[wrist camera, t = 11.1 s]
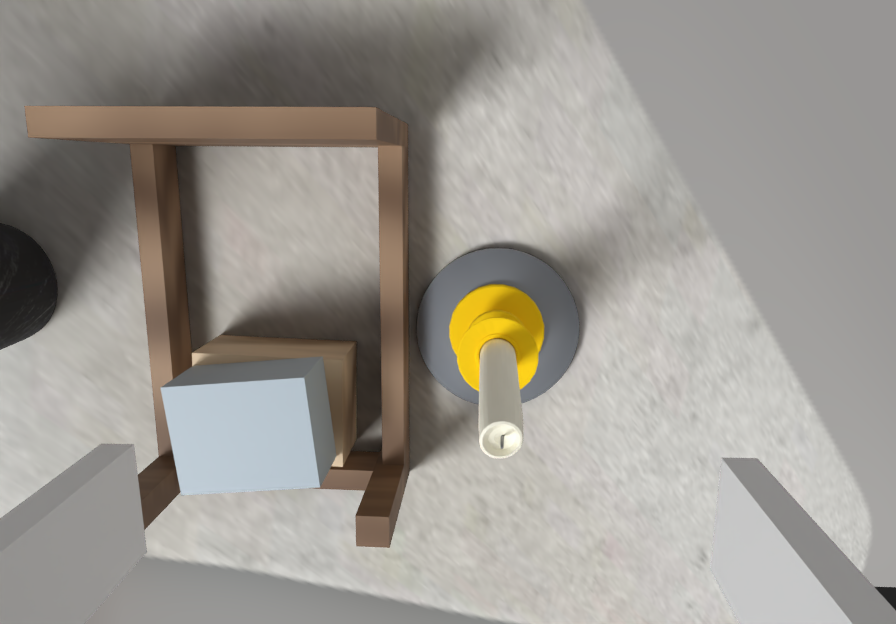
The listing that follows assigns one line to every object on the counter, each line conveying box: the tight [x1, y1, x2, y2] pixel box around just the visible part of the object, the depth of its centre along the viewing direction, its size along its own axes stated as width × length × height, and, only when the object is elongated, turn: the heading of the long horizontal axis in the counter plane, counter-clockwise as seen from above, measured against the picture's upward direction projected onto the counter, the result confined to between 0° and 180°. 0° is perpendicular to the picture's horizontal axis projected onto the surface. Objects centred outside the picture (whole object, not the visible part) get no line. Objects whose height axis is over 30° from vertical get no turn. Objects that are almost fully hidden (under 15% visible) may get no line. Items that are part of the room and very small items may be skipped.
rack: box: [24, 106, 410, 548], centre depth 32 cm, size 20×14×10 cm
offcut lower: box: [192, 335, 357, 467], centre depth 37 cm, size 6×8×4 cm
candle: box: [449, 284, 544, 459], centre depth 29 cm, size 5×5×16 cm
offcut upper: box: [161, 356, 336, 495], centre depth 33 cm, size 6×7×4 cm
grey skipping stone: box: [416, 248, 579, 404], centre depth 36 cm, size 9×9×1 cm
